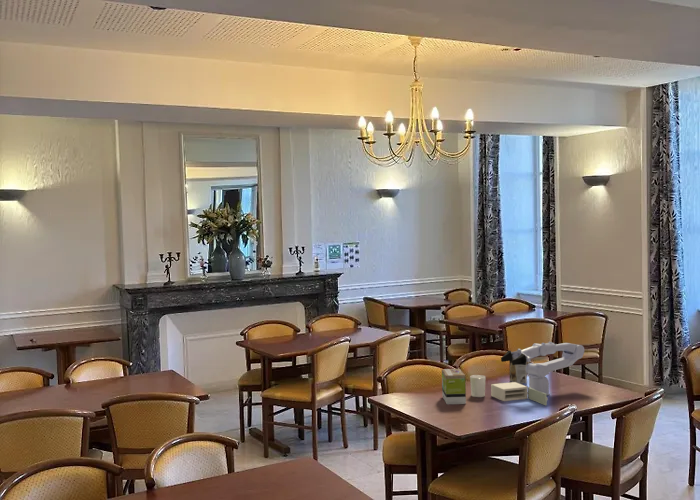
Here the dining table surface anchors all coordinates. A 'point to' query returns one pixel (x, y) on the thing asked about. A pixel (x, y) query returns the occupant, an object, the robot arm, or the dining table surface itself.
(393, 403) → the dining table surface
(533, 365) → the robot arm
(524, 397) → the cabinet
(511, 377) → the coffee box
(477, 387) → the white cup
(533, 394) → the door
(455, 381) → the tea box
